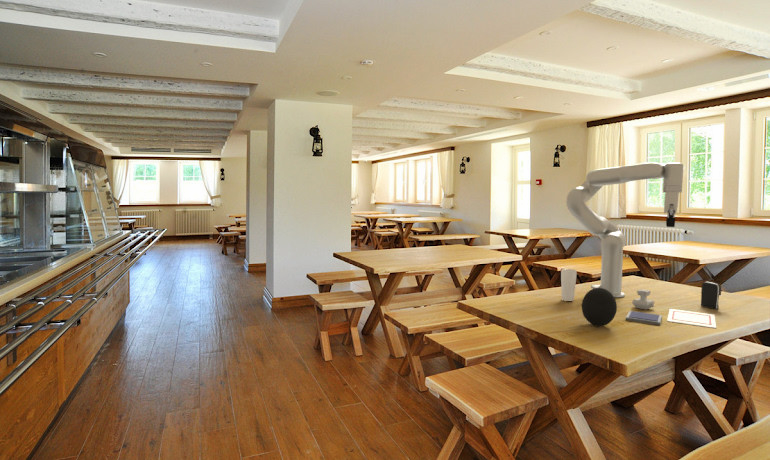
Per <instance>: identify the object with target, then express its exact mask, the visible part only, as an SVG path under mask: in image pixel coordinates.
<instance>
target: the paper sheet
mask: <svg viewBox="0 0 770 460" xmlns="http://www.w3.org/2000/svg"><path fill="white" fill-rule="evenodd" d="M666 319H667V320H666V322H668V323H675V324H682V325H683V324H684V325H688V326H689V325H690V326H696V327H704V328H710V329H717V324H716V316H715V314H712V313H707V312H704V313H703V312H697V311H692V310H691V311H689V310H682V309H675V308H669V310H668V315H667V318H666Z"/></svg>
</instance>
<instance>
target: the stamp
mask: <svg viewBox="0 0 770 460" xmlns="http://www.w3.org/2000/svg"><path fill="white" fill-rule="evenodd" d="M636 294H637V295H638V296H639V298H638V297H637V298H636V299H633V300H632V302H631V303H632V304H633V306H634V307H635V308H636V309H640V310H644V311H645V310H648V309H651V308H654V307H655V301H654V299H648V298H647V297H648V296H651V290H648V289H638V290H637V291H636Z"/></svg>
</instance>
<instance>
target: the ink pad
mask: <svg viewBox="0 0 770 460" xmlns="http://www.w3.org/2000/svg"><path fill="white" fill-rule="evenodd" d="M662 319H663V315H661V314H655V313H648V312H640V311H633V310H629V311H628V312H627V315H626V316H625V321H627V320H629V322H633V321H635V323H640V322H641V323H642V324H647V325H653V324H654V325H656V326H661V323H662Z"/></svg>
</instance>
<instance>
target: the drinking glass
mask: <svg viewBox="0 0 770 460" xmlns="http://www.w3.org/2000/svg"><path fill="white" fill-rule="evenodd" d="M560 281H561V283H560V285H561V286H560V287H561V300H562V299H563V300H566V301H572V302H574V301H573V300H575V289H576V284H577V283H576V282H577V270H576V269H571V268H562V269H561V272H560ZM563 300H562V301H563ZM566 301H565V302H566Z"/></svg>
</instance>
